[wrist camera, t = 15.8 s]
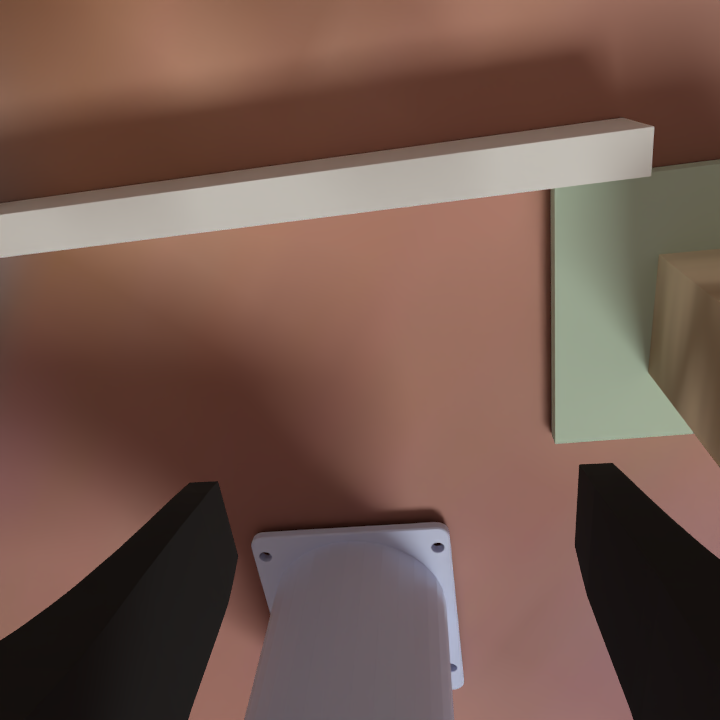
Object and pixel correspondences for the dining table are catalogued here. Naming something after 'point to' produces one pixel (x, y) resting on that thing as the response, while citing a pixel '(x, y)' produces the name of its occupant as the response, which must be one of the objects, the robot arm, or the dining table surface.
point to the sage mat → (619, 296)
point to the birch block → (689, 340)
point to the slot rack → (332, 186)
